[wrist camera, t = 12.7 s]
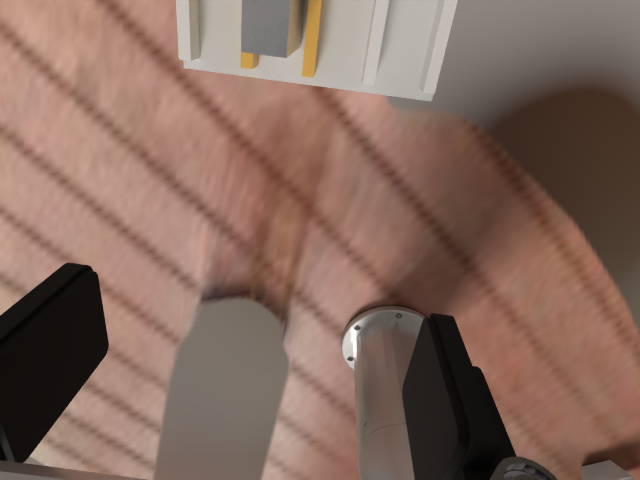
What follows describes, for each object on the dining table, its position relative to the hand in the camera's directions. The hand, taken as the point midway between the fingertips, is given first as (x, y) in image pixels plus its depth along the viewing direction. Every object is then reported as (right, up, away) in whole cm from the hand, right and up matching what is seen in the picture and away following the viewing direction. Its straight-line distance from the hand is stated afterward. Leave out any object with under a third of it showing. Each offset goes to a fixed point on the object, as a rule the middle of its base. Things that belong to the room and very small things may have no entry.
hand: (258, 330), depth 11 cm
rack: (+2, +24, +23) cm, 33 cm away
